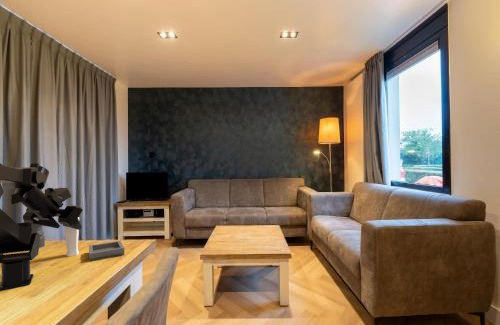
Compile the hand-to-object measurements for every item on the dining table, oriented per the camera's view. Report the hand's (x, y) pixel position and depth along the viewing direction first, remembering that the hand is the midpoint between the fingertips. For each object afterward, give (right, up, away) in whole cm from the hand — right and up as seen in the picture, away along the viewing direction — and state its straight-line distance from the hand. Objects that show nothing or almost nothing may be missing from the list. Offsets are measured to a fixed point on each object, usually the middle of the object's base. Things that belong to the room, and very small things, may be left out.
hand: (69, 227), depth 92 cm
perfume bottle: (0, -9, +1) cm, 9 cm away
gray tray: (+12, -9, +1) cm, 15 cm away
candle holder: (-19, -10, +9) cm, 23 cm away
